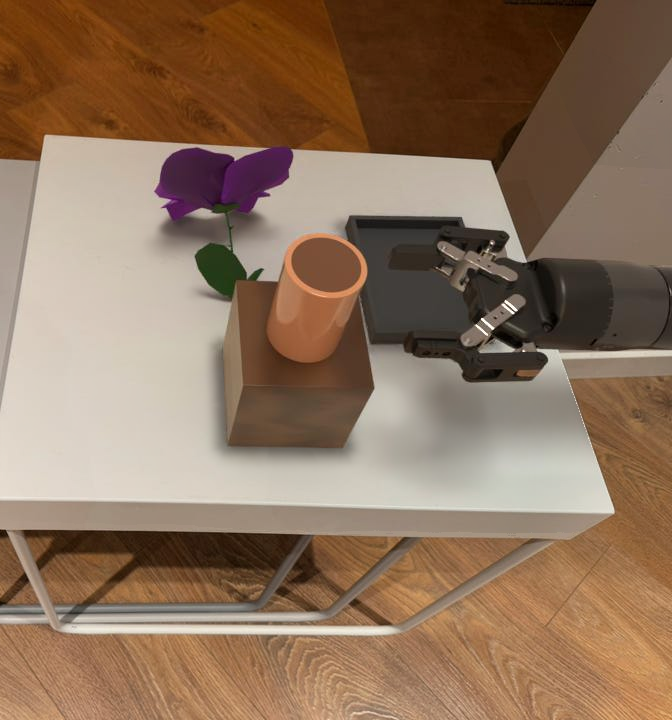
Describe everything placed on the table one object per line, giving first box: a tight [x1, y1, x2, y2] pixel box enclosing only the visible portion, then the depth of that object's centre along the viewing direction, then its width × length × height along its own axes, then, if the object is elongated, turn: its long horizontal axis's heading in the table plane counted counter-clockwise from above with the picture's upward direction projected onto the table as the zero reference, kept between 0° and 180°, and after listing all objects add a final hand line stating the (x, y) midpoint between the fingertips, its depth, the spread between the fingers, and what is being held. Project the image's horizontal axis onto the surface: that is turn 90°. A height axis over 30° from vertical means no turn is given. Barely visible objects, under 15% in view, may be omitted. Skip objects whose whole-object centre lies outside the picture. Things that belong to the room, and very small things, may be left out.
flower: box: [153, 145, 294, 297], centre depth 80 cm, size 15×15×14 cm
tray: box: [344, 214, 496, 345], centre depth 84 cm, size 16×13×2 cm
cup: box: [266, 232, 367, 363], centre depth 63 cm, size 6×6×9 cm
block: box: [222, 280, 376, 449], centre depth 71 cm, size 11×11×11 cm
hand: (397, 298), depth 63 cm, fingers open, 8 cm apart
